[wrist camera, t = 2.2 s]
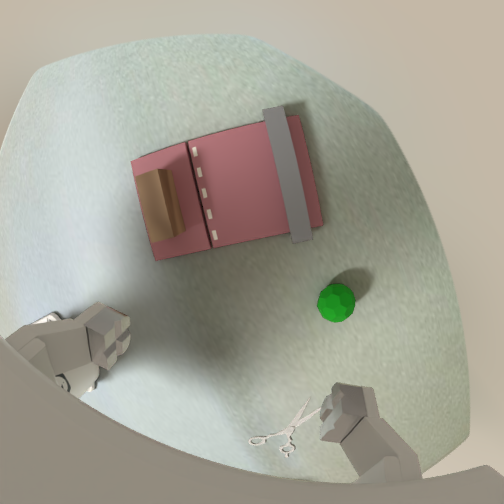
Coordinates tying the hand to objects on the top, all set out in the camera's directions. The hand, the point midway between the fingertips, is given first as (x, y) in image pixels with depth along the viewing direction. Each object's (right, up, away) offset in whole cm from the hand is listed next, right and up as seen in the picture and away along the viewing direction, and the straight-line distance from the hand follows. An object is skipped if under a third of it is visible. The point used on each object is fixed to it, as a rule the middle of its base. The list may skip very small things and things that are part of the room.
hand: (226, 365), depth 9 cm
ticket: (+1, +13, +24) cm, 27 cm away
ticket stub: (-10, +11, +25) cm, 29 cm away
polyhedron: (+12, -2, +27) cm, 29 cm away
